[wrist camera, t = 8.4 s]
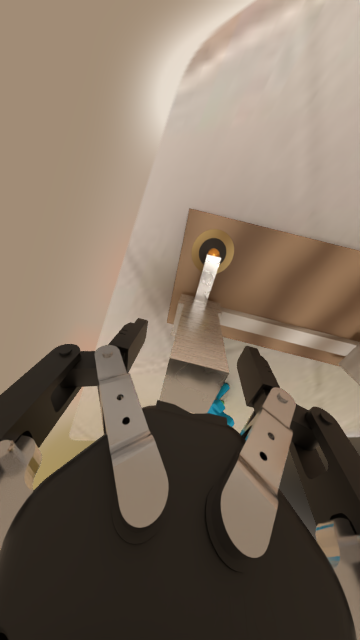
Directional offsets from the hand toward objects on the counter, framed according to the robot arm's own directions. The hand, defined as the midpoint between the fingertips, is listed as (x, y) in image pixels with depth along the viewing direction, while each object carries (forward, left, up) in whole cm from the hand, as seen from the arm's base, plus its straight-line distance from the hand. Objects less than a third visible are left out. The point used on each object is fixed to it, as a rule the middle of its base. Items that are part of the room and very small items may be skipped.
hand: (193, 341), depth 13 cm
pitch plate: (-9, -3, -8) cm, 12 cm away
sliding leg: (0, -2, -6) cm, 6 cm away
